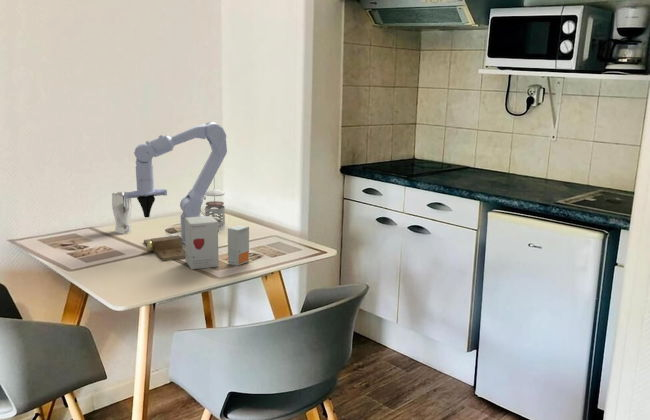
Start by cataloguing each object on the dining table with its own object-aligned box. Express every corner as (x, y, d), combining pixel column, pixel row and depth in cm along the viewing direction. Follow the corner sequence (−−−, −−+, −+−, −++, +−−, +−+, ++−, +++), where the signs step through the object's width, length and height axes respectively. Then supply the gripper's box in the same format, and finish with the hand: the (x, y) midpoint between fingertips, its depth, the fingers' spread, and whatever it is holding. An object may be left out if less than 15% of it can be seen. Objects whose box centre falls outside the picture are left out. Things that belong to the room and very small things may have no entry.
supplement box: (190, 270, 185) (189, 223, 182) (185, 261, 193) (183, 217, 190) (219, 267, 189) (218, 221, 185) (212, 258, 197) (211, 215, 193)
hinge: (170, 239, 218) (169, 228, 217) (191, 256, 198) (191, 245, 197) (143, 242, 213) (143, 231, 212) (163, 260, 193) (162, 249, 193)
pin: (176, 246, 209) (176, 236, 209) (180, 248, 206) (179, 238, 206) (147, 250, 204) (146, 239, 203) (150, 252, 201) (149, 242, 200)
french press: (225, 230, 232) (224, 167, 226) (195, 229, 232) (193, 166, 227) (229, 224, 242) (228, 163, 236) (201, 223, 242) (199, 162, 236)
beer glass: (136, 231, 228) (134, 193, 224) (122, 235, 222) (119, 196, 219) (124, 228, 231) (122, 190, 228) (109, 232, 226) (107, 193, 222)
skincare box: (237, 266, 190) (237, 230, 187) (227, 263, 192) (227, 228, 189) (249, 261, 195) (249, 226, 192) (239, 259, 197) (239, 224, 194)
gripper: (126, 182, 200) (128, 221, 203) (168, 179, 207) (170, 217, 210) (121, 179, 206) (123, 217, 209) (163, 176, 213) (164, 212, 216)
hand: (146, 216), depth 210 cm, fingers closed
